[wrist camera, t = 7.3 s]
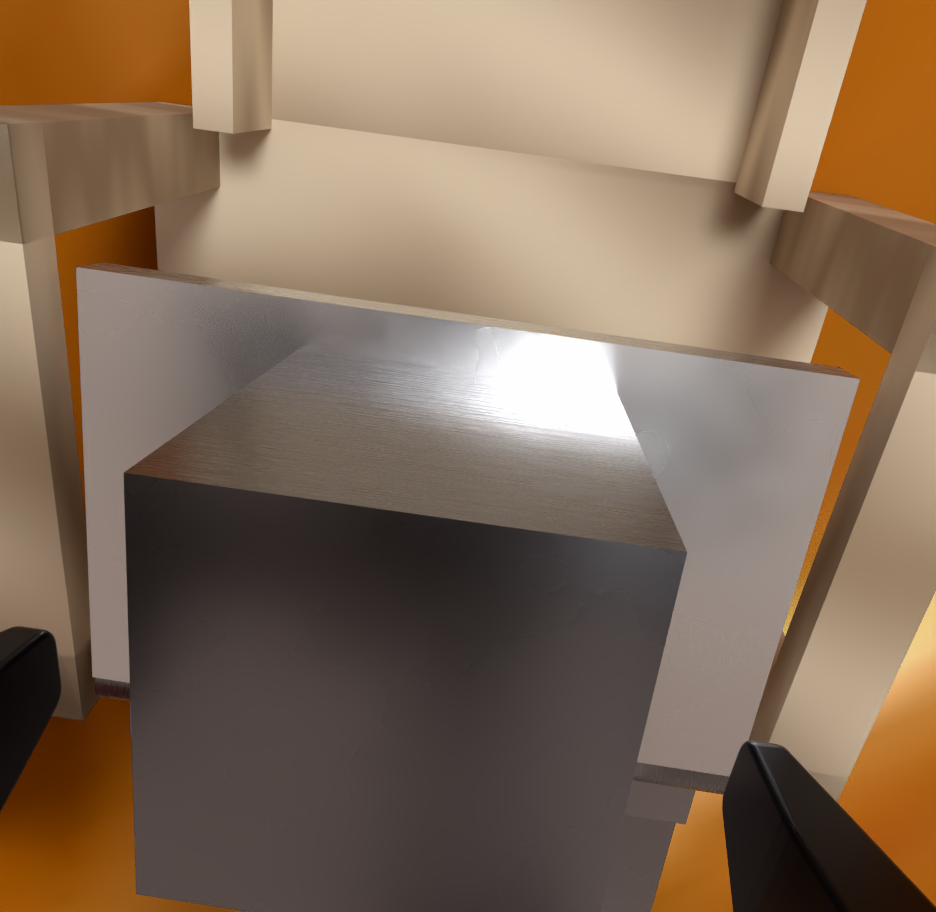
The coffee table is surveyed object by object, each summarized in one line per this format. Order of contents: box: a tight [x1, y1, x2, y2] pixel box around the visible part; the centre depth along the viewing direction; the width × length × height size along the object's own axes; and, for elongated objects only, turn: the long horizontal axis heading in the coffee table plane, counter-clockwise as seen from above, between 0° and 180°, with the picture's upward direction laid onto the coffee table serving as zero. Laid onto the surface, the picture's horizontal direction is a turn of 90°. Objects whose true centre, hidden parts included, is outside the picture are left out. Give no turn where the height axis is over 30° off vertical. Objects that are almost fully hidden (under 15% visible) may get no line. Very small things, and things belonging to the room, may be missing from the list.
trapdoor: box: [76, 262, 860, 912], centre depth 17 cm, size 13×12×6 cm
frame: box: [0, 0, 936, 802], centre depth 14 cm, size 21×16×8 cm
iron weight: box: [123, 350, 687, 912], centre depth 10 cm, size 5×5×6 cm
